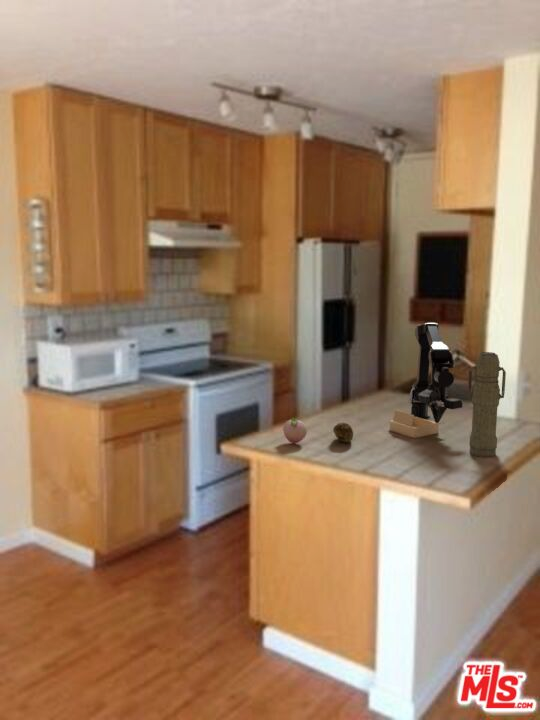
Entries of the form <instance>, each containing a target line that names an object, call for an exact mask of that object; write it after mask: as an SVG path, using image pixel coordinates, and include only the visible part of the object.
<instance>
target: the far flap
mask: <svg viewBox="0 0 540 720" xmlns="http://www.w3.org/2000/svg"><path fill="white" fill-rule="evenodd" d="M413 419H414V415H412V414H411V413H408V412H405V411H401V410H398V409H395V410H394V415H393V419H392V420H393V421H396V422H400V423H403V424H407V425H410V426H412V425H413Z"/></svg>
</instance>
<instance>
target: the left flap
mask: <svg viewBox="0 0 540 720" xmlns="http://www.w3.org/2000/svg"><path fill="white" fill-rule="evenodd" d="M444 423H445V421H439V423H433V424H428V425H423V426H418V427H425V426H431V425H435V424H439V425H441V424H444Z"/></svg>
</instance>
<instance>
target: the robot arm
mask: <svg viewBox="0 0 540 720" xmlns="http://www.w3.org/2000/svg"><path fill="white" fill-rule="evenodd" d="M414 335H415V340H416V341H417V343H418V345H419V346H418V347H419V349H418V350H419V351H418V360H417V375H416V376H417V377H416V380H415V381H414V382H413V383H412V388H411V389H410V392H409V395H408V402H409V403H410V404H411V412H410V414H412V415H414V417H419V418H423V419H429V418H431V415H429V411H428V410H429V409H430V411H431V413H432V416H433V419H434V422H435V423H439V422H441V419H442V417H443V416H444V413H445V412H446V410H448V409H449V410H456V409H462V408H463V401H462V399H460V398H459V399H458V398H449V395H448V394H447V388H450V386H451V385H453V383H454V381H455V377H454V375H453V373H452V372H450V369H453V368H454V364H455V361H454V357H453V353H452V351H450V349H449V346H448V345H446V344H445V343H443V340H442V337H441V334H440V330H439V324H438V323H436V322H426V323H422V324H418V325H417V326H416V327H415V329H414ZM430 368H431V369H430ZM429 371H431V373H430V372H429ZM429 373H430V383H429Z"/></svg>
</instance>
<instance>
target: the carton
mask: <svg viewBox="0 0 540 720" xmlns="http://www.w3.org/2000/svg"><path fill="white" fill-rule="evenodd" d="M393 420H394V419H392V420H390V421H389V431H390V432H393V433H396V434H398V435H399V434H400V435H403V436H406V437H408V438H413V439H419V438H422V437H426V436H432V435H436V434H439V429H440V428H439V425H440V424H435V425H431V426H425V427H418V426H423V425H428V424H433V423H435V420H434V421H433V420H430V419H427V418H425V419H423V418H419V417H414V419H413V425H412V426H410V425H407V424H403V423H400V422H396V421H393Z"/></svg>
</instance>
